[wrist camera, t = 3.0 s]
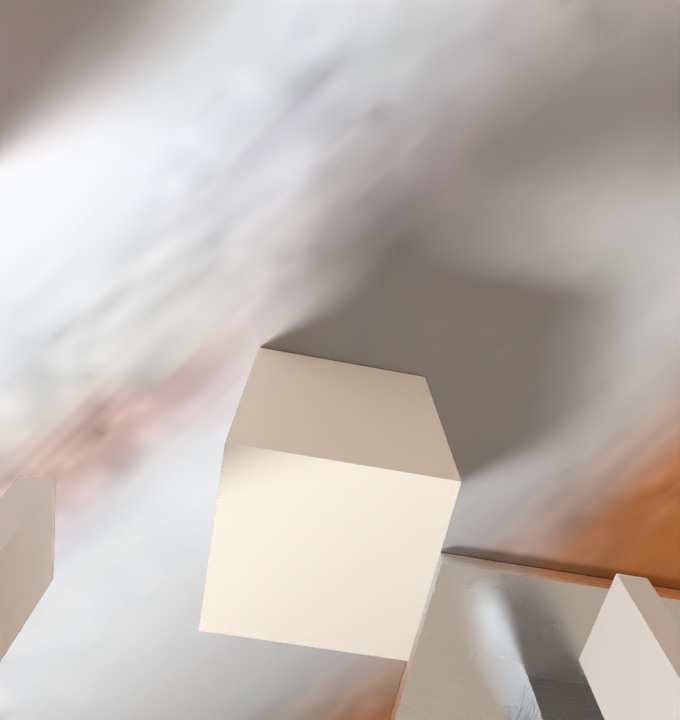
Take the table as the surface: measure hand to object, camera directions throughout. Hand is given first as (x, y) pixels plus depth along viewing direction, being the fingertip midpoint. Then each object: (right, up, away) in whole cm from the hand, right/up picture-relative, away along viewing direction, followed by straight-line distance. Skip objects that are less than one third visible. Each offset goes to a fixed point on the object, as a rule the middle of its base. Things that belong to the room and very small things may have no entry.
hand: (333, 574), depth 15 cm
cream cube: (0, +2, +7) cm, 7 cm away
